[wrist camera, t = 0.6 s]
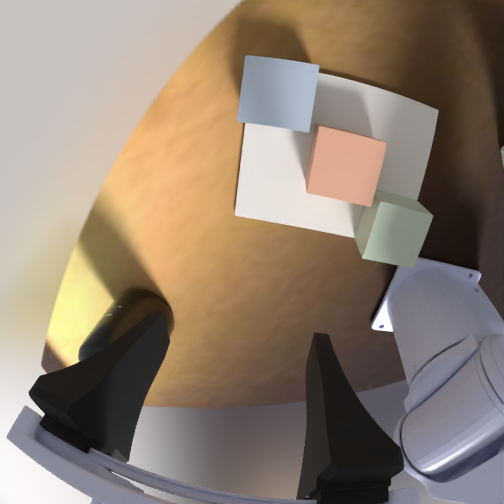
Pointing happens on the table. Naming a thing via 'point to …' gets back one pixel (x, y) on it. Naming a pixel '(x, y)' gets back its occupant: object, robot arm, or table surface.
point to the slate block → (277, 93)
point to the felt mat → (299, 147)
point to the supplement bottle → (123, 319)
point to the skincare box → (503, 153)
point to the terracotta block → (344, 165)
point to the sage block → (392, 229)
